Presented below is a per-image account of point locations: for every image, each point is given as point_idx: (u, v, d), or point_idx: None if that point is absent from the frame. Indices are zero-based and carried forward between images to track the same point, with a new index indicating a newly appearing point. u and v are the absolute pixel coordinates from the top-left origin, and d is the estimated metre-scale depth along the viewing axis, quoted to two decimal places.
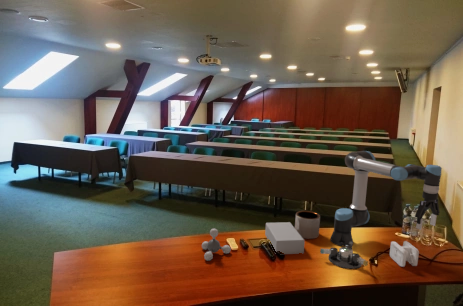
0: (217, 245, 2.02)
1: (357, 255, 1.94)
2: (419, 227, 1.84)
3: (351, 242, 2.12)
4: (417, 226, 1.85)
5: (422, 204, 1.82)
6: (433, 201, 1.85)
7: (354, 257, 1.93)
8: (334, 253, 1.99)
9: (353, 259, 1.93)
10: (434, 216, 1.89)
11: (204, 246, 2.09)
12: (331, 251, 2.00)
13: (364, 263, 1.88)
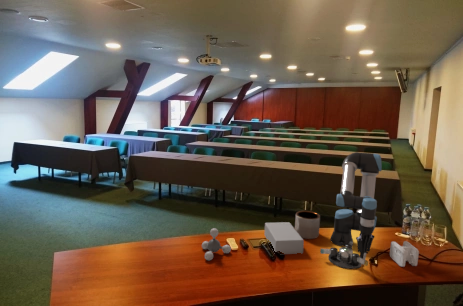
0: (217, 245, 2.02)
1: (357, 255, 1.94)
2: (362, 261, 1.88)
3: (351, 242, 2.12)
4: (360, 260, 1.89)
5: (358, 241, 1.84)
6: (370, 233, 1.86)
7: (354, 257, 1.93)
8: (334, 253, 1.99)
9: (353, 259, 1.93)
10: None
11: (204, 246, 2.10)
12: (331, 251, 2.00)
13: None
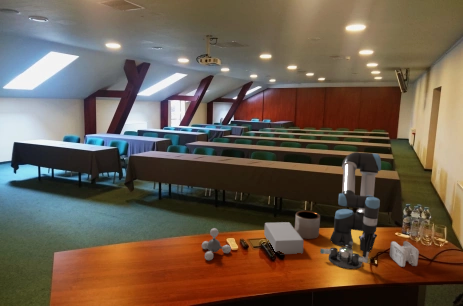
0: (217, 245, 2.02)
1: (357, 255, 1.94)
2: (365, 260, 1.89)
3: (351, 242, 2.12)
4: (363, 259, 1.90)
5: (361, 239, 1.85)
6: None
7: (356, 257, 1.92)
8: (334, 253, 1.99)
9: (355, 260, 1.93)
10: None
11: (204, 246, 2.10)
12: (331, 251, 2.00)
13: (368, 261, 1.90)
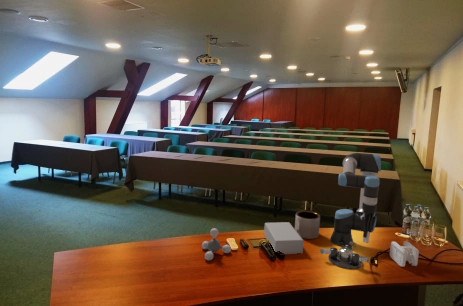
0: (217, 245, 2.03)
1: (357, 254, 1.94)
2: (365, 240, 1.86)
3: (351, 242, 2.12)
4: (364, 239, 1.87)
5: (362, 219, 1.82)
6: (373, 212, 1.85)
7: (357, 257, 1.92)
8: (334, 253, 1.99)
9: (356, 260, 1.93)
10: None
11: (204, 246, 2.10)
12: (331, 251, 2.00)
13: (368, 260, 1.91)
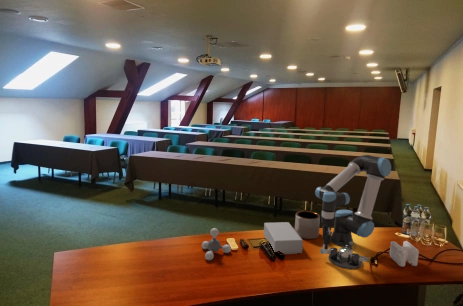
0: (217, 244, 2.03)
1: (357, 254, 1.94)
2: (326, 252, 1.99)
3: (351, 242, 2.12)
4: (324, 251, 1.99)
5: (329, 234, 1.92)
6: None
7: (357, 257, 1.92)
8: (334, 253, 1.99)
9: (356, 260, 1.93)
10: None
11: (204, 246, 2.10)
12: (331, 251, 2.00)
13: (368, 260, 1.91)
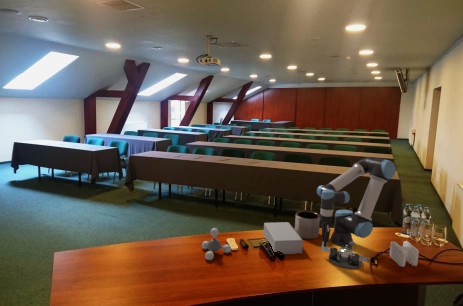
0: (217, 244, 2.03)
1: (357, 254, 1.94)
2: (325, 249, 2.02)
3: (351, 242, 2.12)
4: (323, 249, 2.02)
5: (328, 231, 1.95)
6: None
7: (357, 257, 1.92)
8: (332, 252, 2.00)
9: (356, 260, 1.93)
10: None
11: (204, 246, 2.10)
12: (330, 250, 2.01)
13: (368, 260, 1.91)
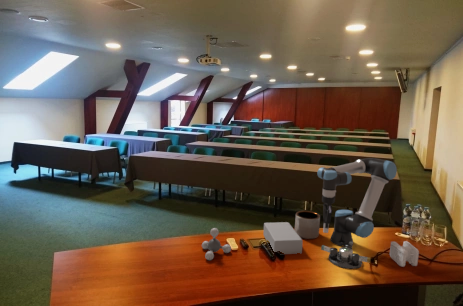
0: (217, 244, 2.03)
1: (357, 254, 1.94)
2: (327, 231, 1.99)
3: (351, 242, 2.12)
4: (325, 230, 1.99)
5: (330, 212, 1.92)
6: None
7: (357, 257, 1.92)
8: (332, 252, 2.00)
9: (356, 260, 1.93)
10: None
11: (204, 246, 2.10)
12: (330, 250, 2.02)
13: (368, 260, 1.91)
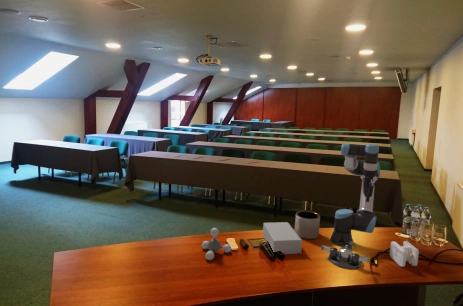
0: (218, 244, 2.03)
1: (357, 254, 1.94)
2: (367, 204, 2.01)
3: (351, 242, 2.12)
4: (365, 204, 2.01)
5: (372, 185, 1.94)
6: None
7: (357, 257, 1.92)
8: (332, 252, 2.00)
9: (356, 260, 1.93)
10: None
11: (204, 246, 2.10)
12: (330, 250, 2.02)
13: (368, 260, 1.91)
